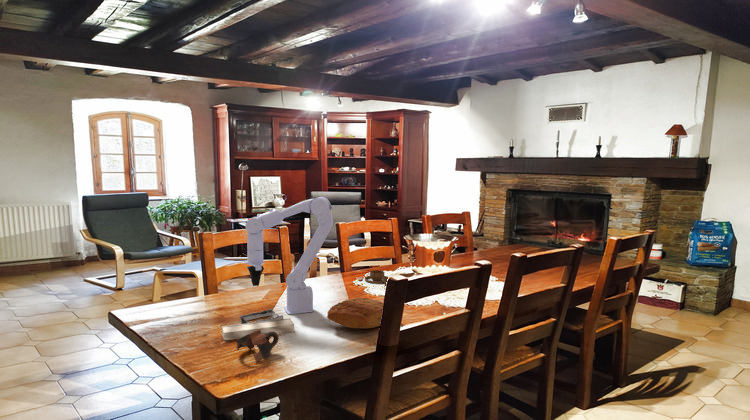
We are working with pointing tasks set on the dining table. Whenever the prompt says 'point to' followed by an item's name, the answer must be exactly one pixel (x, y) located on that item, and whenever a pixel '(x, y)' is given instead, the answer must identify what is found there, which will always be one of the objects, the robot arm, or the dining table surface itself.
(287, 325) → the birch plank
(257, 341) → the brown looped piece
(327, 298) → the dining table surface
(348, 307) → the bread loaf
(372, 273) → the place setting
